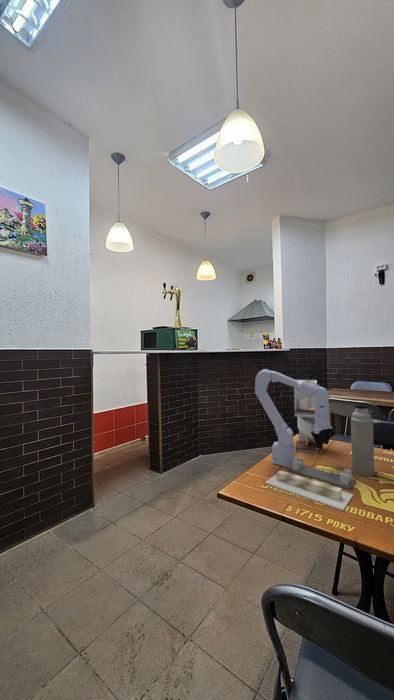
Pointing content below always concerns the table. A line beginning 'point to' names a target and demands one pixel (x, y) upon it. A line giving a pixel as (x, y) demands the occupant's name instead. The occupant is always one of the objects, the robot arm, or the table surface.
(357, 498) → the table surface
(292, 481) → the rail
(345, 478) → the rack
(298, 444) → the display case
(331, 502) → the mat
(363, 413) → the thermos bottle
